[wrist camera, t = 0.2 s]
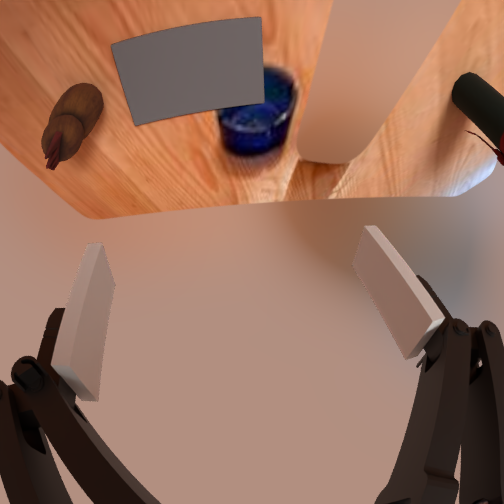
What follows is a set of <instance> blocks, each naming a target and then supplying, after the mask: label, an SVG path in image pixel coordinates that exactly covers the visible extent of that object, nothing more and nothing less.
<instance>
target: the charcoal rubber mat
mask: <svg viewBox="0 0 504 504" xmlns="http://www.w3.org/2000/svg"><path fill="white" fill-rule="evenodd" d="M111 48H112V52H113V55H114V59H115V62H116V66H117V69H118V73H119V76H120V79H121V83H122V86H123V89H124V93H125V96H126V99H127V102H128V105H129V108H130V111H131V115H132V118H133V121H134V124H135V126H137V125H140V124H145V123H149V122H153V121H157V120H162V119H166V118H171V117H175V116H180V115H185V114H191V113H196V112H202V111H207V110H214V109H220V108H227V107H234V106H241V105H249V104H258V103H264V76H263V47H262V21H261V17H249V18H237V19H227V20H219V21H211V22H204V23H198V24H192V25H186V26H181V27H176V28H171V29H166V30H162V31H157V32H153V33H149V34H145V35H141V36H138V37H134V38H131V39H127V40H124V41H121V42H117V43H114V44H112V45H111Z"/></svg>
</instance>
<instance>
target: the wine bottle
mask: <svg viewBox="0 0 504 504" xmlns="http://www.w3.org/2000/svg"><path fill="white" fill-rule="evenodd" d="M452 100H453V102H454V104H455V105H456V106H457V107H458V108H459V109H460V110H461V111H462V112H463V113H464V114H465V115H466V116H467V117H468V118H469V119H470V120H471V121H472V122H473V123H474V124H475V125H476V126H477V127H478V128H479V129H480V130H481V131H482V132H483V133H484V134H485V135H486V136H487V137H488V138H489V139H490V140H491V141H492V143H493V144H494V145H495V146H496V147H497V148H498V149H499V150H500V151H499V150H498V149H494V148H493V147H491V146H490V145H489V144H488V143H487V142H486V141H484V140H483V139H482V138H481V137H480V136H478V135H477V134H475V133H472V132H469V131H467V132H468V133H471V134H474V135H477V136H478V137H479V138H480V139H481V140H482V141H483V142H485V143H486V144H487V145H488V146H489V147H490V148H491V149H492V150H493V151H494V153H495V154H496V155H497V156H498V157H497V159H498V161H499V162H500V163H501V164H502V165H503V166H504V97H503V96H502V95H501V94H500V93H499V92H498V91H497V90H495V89H494V88H493V87H492V86H491V85H489V84H488V83H487V82H486V81H484V80H483V79H482V78H481V77H479V76H478V75H477V74H474V73H471V72H469V73H466V74H463V75H461V76H460V78H459V79H458V80H457V81H456V82H455V84H454V87H453V90H452ZM465 131H466V130H465Z"/></svg>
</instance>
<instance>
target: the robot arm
mask: <svg viewBox="0 0 504 504" xmlns="http://www.w3.org/2000/svg"><path fill="white" fill-rule="evenodd" d="M352 267H353V268H354V270H355V272H356V273H357V275H358V277H359V278H360V280H361V282H362V283H363V285H364V287H365V288H366V290H367V292H368V293H369V295H370V297H371V299H372V300H373V302H374V304H375V305H376V307H377V309H378V310H379V312H380V314H381V316H382V318H383V319H384V321H385V323H386V325H387V327H388V328H389V330H390V332H391V334H392V336H393V338H394V339H395V341H396V343H397V345H398V347H399V349H400V351H401V353H402V354H403V356H404V358H405V360H406V359H409V358H413V357H416V356H418V354H419V353H420V352H421V351H422V349H423V348H424V350H425V352H426V354H425V355H424V356H423V357H422V359H421V360H420V361H419V363H418V364H417V366H416V367H417V368H418V367H419V366H420V365H421V363H422V367H421V373H420V377H419V383H418V387H417V391H416V396H415V400H414V404H413V408H412V412H411V416H410V419H409V423H408V427H407V430H406V433H405V437H404V440H403V443H402V446H401V449H400V452H399V455H398V458H397V461H396V464H395V467H394V469H393V472H392V475H391V478H390V480H389V482H388V484H387V486H386V487H385V488H384V489H383V490H382V491H381V493H380V494H379V496H378V497H377V499H376V501H375V504H455V500H456V497H457V494H458V490H459V483H458V481H457V480H456V479H455V478H454V472H455V468H456V464H457V460H458V455H459V450H460V445H461V473H460V490H459V504H504V346H503V342H502V339H501V335H500V332H499V330H498V328H497V327H496V325H495V324H493V323H492V322H490V321H483V322H482V323H481V325H480V326H479V327H478V328H477V327H468V325H467V324H466V323H465V322H464V321H462V320H461V319H457V318H455V319H453V318H452V316H451V315H450V313H449V312H448V310H447V309H446V308H445V306H444V305H443V303H442V302H441V300H440V299H439V298H438V297H437V295H436V293H435V292H434V291H433V290H432V288H431V287H430V285H429V284H428V283H427V281H425V280H424V279H423V278H422V277H420V276H419V275H417V276H415V274H414V273H413V272H412V270H411V269H410V268H409V266H408V265H407V264H406V262H405V261H404V260H403V259H402V257H401V256H400V255H399V253H398V252H397V251H396V250H395V249H394V247H393V246H392V244H391V243H390V242H389V241H388V240H387V239H386V237H385V236H384V235H383V233H382V232H381V231H380V230H379V229H378V227H377V226H364V229H363V232H362V235H361V239H360V242H359V245H358V249H357V252H356V255H355V258H354V261H353V264H352ZM114 289H115V282H114V280H113V276H112V273H111V270H110V267H109V264H108V260H107V257H106V254H105V250H104V247H103V244H102V242H101V243H89V244H88V245H87V248H86V250H85V253H84V255H83V258H82V260H81V263H80V266H79V269H78V271H77V275H76V277H75V280H74V283H73V286H72V289H71V292H70V295H69V298H68V302H67V305H66V308H55V310H54V311H53V312H52V314H51V315H50V317H49V318H48V322H47V325H46V330H45V331H44V335H43V339H42V342H41V345H40V349H39V353H38V357H37V360H36V359H35V358H34V357H32V356H24V357H22V358H20V359H19V360H17V362H15V364H14V365H13V367H12V371H11V378H12V381H13V382H14V383H15V384H12V385H8V386H7V385H6V384H5V383H4V382H3V381H1V380H0V475H1V478H2V482H3V485H4V488H5V491H6V493H7V497H8V499H9V502H10V504H73V503H72V501H71V498H70V496H69V494H68V492H67V490H66V488H65V485H64V483H63V481H62V479H61V476H60V474H59V471H58V469H57V467H56V464H55V461H54V458H53V456H52V453H51V450H50V448H49V445H48V442H47V439H46V436H47V437H48V439H49V441H50V442H51V444H52V446H53V447H54V449H55V450H56V452H57V454H58V455H59V457H60V458H61V460H62V461H63V463H64V464H65V466H66V467H67V469H68V470H69V472H70V473H71V474H72V476H73V477H74V479H75V480H76V481H77V483H78V484H79V485H80V487H81V488H82V489H83V490H84V492H85V493H86V494H87V496H88V497H89V498H90V499H91V501H92V502H93V503H94V504H161V503H160V502H159V501H158V500H157V499H156V498H155V497H153V495H151V494H150V493H149V492H148V491H147V490H146V489H145V488H144V487H143V485H141V483H140V482H139V481H138V480H137V479H136V478H135V477H134V476H133V475H132V474H131V473H130V472H129V471H128V470H127V469H126V467H125V466H124V465H123V464H122V463H121V462H120V460H119V459H118V458H117V457H116V456H115V455H114V453H113V452H112V451H111V450H110V449H109V447H108V446H107V445H106V444H105V442H104V441H103V440H102V439H101V437H100V436H99V435H98V433H97V432H96V431H95V429H94V428H93V427H92V425H91V424H90V423H89V421H88V420H87V418H86V417H85V416H84V414H83V413H82V411H81V410H80V408H79V407H78V406H77V405H76V403H75V399H76V395H77V396H78V397H79V398H80V399H81V400H82V401H98V399H99V387H100V377H101V368H102V361H103V353H104V346H105V339H106V333H107V326H108V320H109V315H110V309H111V304H112V299H113V293H114ZM480 360H482V366H481V367H479V364H478V363H479V362H480ZM45 434H46V436H45Z"/></svg>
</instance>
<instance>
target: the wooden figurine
mask: <svg viewBox="0 0 504 504" xmlns="http://www.w3.org/2000/svg"><path fill="white" fill-rule="evenodd" d="M103 105H104V103H103V99H102V94H101V92H100V91H99V90H98V89H97V87H95V86H94V85H92V84H87V83H80V84H76V85H74V86H72V87H70V88H69V89H68V90H67V91H66V92H65V93H64V94H63V95H62V96H61V98H60V99H59V101H58V102H57V104H56V105H55V107H54V109H53V111H52V113H51V115H50V118H49V124H48V125H47V127H46V129H45V130H44V133H43V136H42V140H41V144H42V149H43V152H44V154H45V159H47V158H49V159H48V162H47V165H46V168H47V169H48V168H49V169H51V170H54V169H55V168H56V167H57V165H58V163H59V162H61V161H65V160H68V159H70V158H71V157H72V156H73V155H74V154H75V153H76V152H77V151H78V150H79V148H80V146H81V143H82V141H83V139H85V138H86V137H87V136H88V134H89V133H90V132H91V131H92V129H93V127H94V125H95V124H96V122H97V120H98V119H99V116H100V114H101V112H102V109H103Z"/></svg>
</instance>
